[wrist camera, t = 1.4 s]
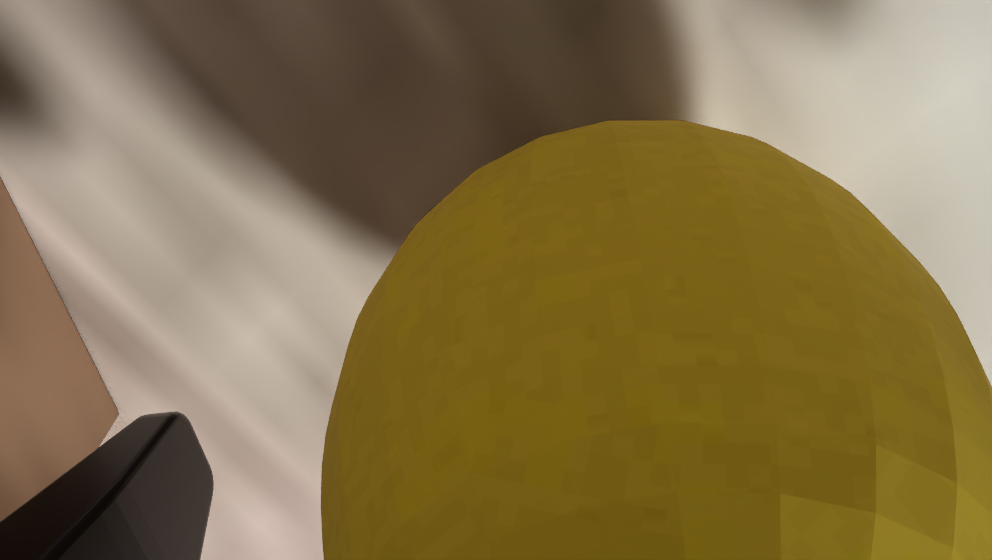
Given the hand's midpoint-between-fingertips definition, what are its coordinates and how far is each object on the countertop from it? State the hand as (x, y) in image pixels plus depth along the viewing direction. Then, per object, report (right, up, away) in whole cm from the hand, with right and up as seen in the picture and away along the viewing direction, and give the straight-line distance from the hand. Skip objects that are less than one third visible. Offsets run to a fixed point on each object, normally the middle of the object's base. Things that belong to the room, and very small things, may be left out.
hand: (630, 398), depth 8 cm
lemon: (0, +2, +3) cm, 3 cm away
